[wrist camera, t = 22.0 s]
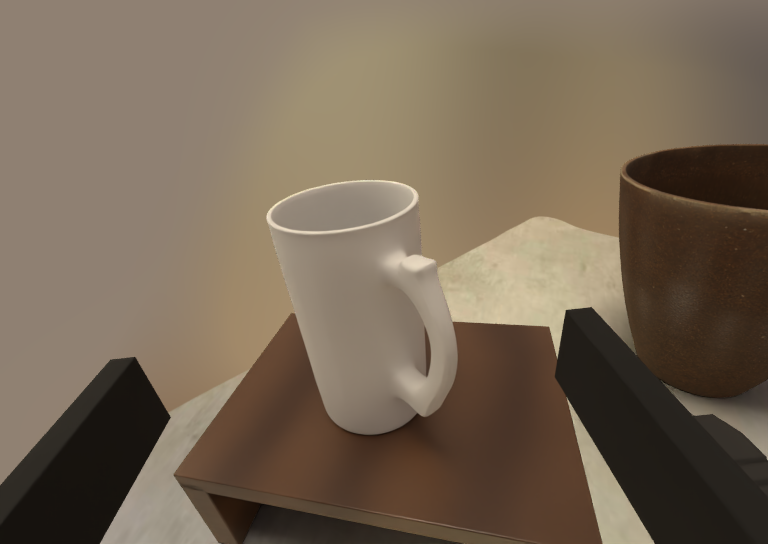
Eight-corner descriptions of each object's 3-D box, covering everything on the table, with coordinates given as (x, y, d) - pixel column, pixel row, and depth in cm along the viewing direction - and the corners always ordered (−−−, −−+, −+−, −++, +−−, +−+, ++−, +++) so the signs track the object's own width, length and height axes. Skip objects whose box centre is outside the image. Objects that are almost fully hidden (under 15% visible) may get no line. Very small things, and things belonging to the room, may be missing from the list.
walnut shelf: (217, 542, 22) (172, 474, 19) (308, 373, 34) (290, 312, 31) (578, 628, 17) (606, 557, 14) (539, 396, 29) (549, 326, 26)
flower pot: (654, 454, 24) (745, 230, 16) (556, 318, 37) (581, 157, 29) (892, 434, 23) (1107, 192, 16) (708, 303, 36) (775, 135, 29)
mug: (301, 387, 23) (245, 207, 17) (386, 339, 26) (363, 172, 20) (399, 522, 16) (360, 286, 10) (501, 432, 19) (518, 213, 13)
